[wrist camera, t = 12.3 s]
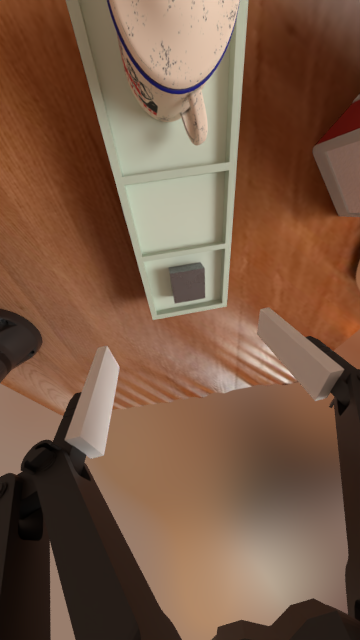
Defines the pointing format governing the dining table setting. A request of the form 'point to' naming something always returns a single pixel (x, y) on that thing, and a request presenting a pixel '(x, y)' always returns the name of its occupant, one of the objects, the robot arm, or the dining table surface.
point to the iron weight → (187, 282)
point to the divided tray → (168, 163)
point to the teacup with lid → (173, 54)
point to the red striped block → (342, 161)
